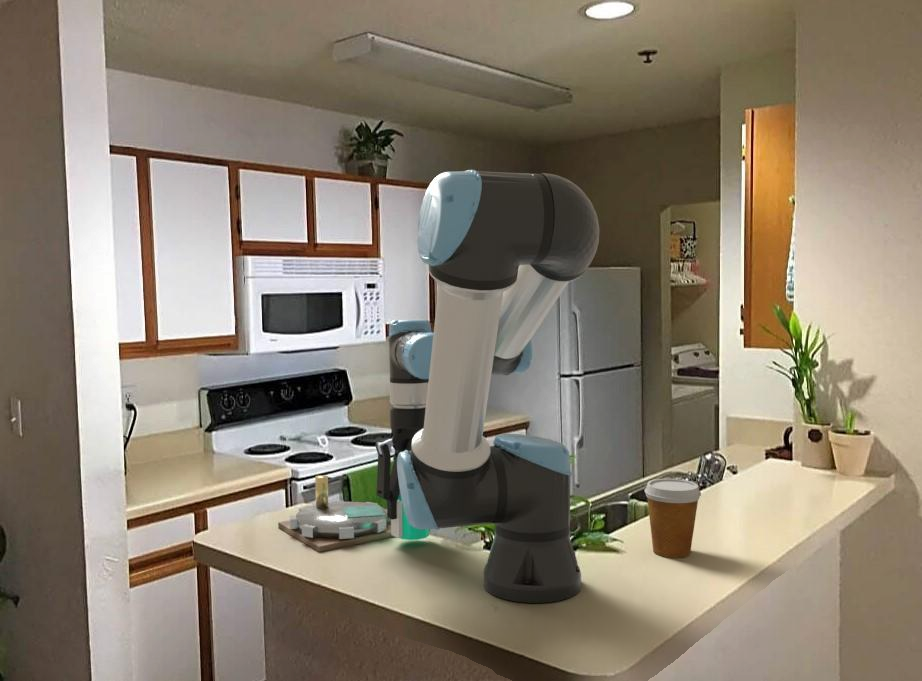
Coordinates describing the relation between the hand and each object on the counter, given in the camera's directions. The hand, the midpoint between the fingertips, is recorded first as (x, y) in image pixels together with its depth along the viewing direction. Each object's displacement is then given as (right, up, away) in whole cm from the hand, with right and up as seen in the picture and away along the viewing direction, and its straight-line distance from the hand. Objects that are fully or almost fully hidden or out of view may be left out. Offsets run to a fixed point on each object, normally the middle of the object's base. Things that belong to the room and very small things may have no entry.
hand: (412, 532), depth 150 cm
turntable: (-14, 0, +8) cm, 16 cm away
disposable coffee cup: (+45, -2, -5) cm, 46 cm away
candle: (0, -1, 0) cm, 1 cm away
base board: (-14, -1, +8) cm, 16 cm away
